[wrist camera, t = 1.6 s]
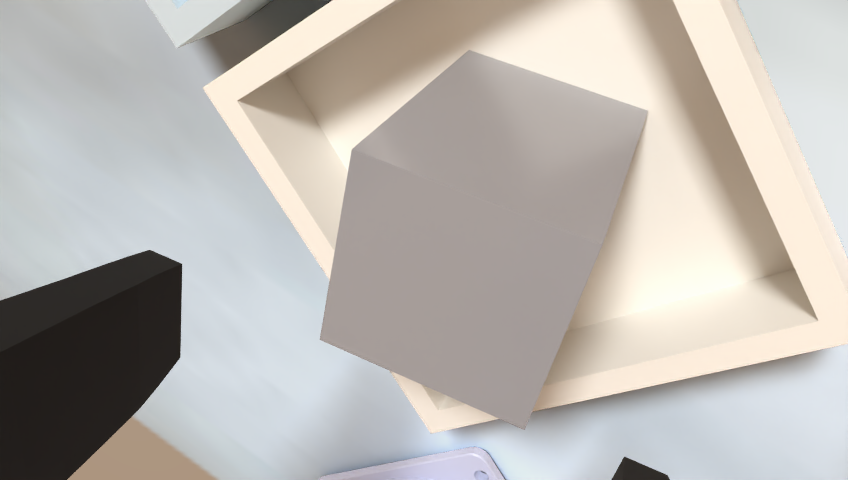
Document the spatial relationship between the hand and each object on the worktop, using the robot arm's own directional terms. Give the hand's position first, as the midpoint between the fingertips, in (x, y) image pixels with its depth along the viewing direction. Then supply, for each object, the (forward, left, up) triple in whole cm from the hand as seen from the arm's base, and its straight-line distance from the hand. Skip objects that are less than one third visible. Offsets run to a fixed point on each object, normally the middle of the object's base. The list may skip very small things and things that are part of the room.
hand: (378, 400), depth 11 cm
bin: (0, 0, -10) cm, 10 cm away
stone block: (0, 0, -9) cm, 9 cm away
